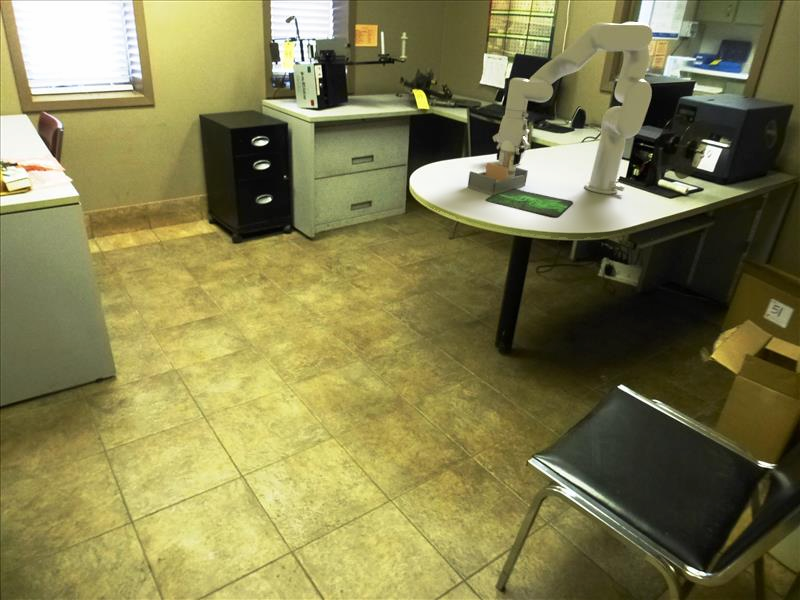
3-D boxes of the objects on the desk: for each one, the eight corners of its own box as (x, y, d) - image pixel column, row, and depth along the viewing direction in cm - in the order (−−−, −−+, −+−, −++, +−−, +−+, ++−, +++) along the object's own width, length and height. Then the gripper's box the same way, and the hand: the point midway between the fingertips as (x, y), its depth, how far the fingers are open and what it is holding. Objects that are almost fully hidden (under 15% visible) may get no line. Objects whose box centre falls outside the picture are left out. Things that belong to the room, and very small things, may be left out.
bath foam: (504, 182, 218) (512, 128, 208) (492, 177, 223) (500, 124, 213) (517, 180, 221) (526, 127, 212) (505, 175, 226) (513, 123, 217)
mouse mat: (482, 201, 203) (482, 199, 203) (504, 187, 220) (504, 185, 220) (557, 219, 192) (557, 216, 192) (574, 203, 209) (574, 201, 209)
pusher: (505, 186, 216) (508, 168, 213) (497, 188, 213) (500, 170, 209) (486, 180, 221) (488, 162, 218) (478, 182, 218) (480, 164, 215)
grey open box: (525, 185, 224) (527, 170, 221) (492, 195, 209) (494, 179, 206) (500, 178, 231) (503, 163, 228) (467, 187, 216) (469, 171, 213)
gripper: (541, 117, 208) (532, 165, 216) (501, 109, 218) (494, 155, 226) (529, 119, 203) (521, 168, 211) (490, 110, 213) (483, 158, 221)
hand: (507, 161), depth 219 cm, fingers closed on bath foam, 7 cm apart
